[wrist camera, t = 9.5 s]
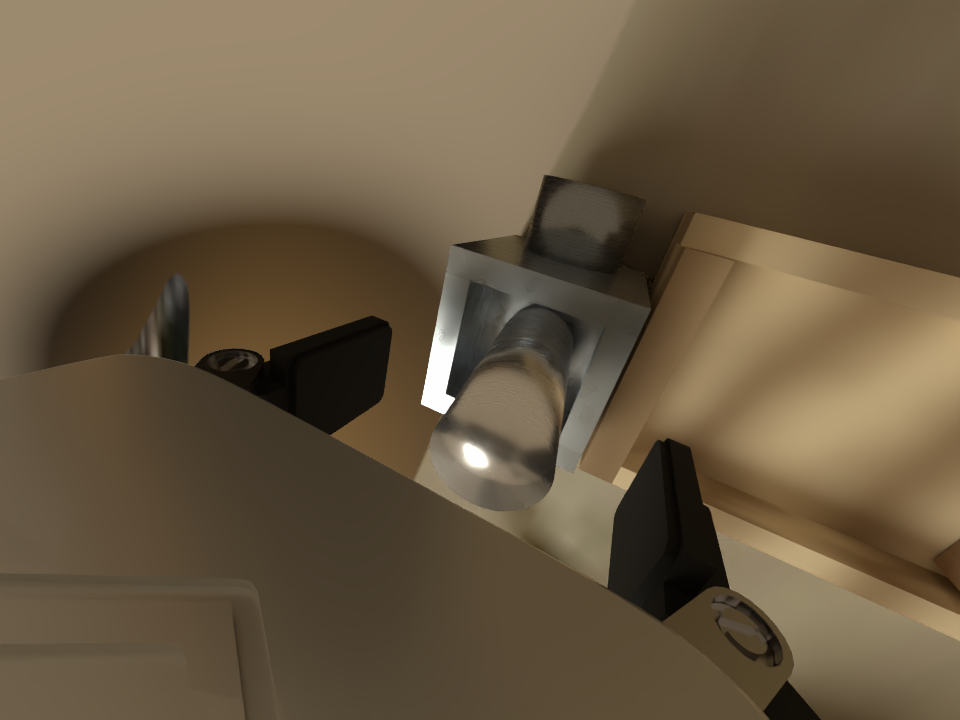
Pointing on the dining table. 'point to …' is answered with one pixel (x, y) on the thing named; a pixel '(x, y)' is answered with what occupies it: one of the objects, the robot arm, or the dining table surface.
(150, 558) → the robot arm
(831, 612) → the dining table surface
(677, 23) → the dining table surface
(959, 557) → the crate
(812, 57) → the dining table surface
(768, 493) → the tray
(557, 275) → the grey hollow block
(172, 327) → the dining table surface
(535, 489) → the pin
